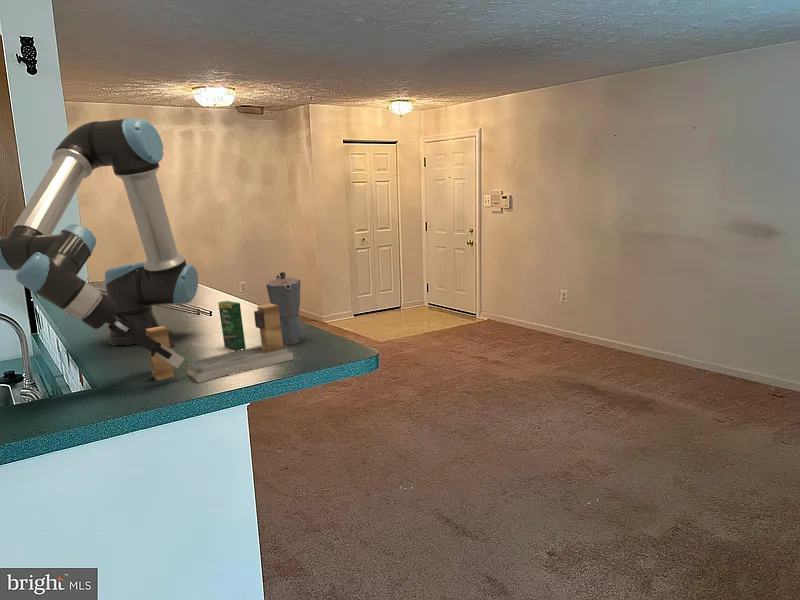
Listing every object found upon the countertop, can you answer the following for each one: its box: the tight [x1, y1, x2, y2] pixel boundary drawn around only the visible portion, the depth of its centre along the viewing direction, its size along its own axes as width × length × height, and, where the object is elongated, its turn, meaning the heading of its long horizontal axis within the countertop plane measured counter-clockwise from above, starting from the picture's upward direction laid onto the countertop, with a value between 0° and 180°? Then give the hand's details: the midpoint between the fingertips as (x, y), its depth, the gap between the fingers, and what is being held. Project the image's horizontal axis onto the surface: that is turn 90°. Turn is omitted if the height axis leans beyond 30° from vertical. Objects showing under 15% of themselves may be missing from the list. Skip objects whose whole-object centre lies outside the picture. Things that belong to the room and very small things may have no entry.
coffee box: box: [217, 300, 247, 351], centre depth 161 cm, size 8×3×13 cm, turn 43°
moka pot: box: [266, 272, 306, 346], centre depth 164 cm, size 10×15×20 cm, turn 27°
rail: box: [185, 344, 294, 383], centre depth 144 cm, size 8×24×3 cm, turn 125°
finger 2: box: [253, 303, 283, 352], centre depth 147 cm, size 4×5×12 cm
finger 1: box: [146, 325, 176, 381], centre depth 140 cm, size 4×5×12 cm
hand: (175, 359), depth 142 cm, fingers open, 8 cm apart
